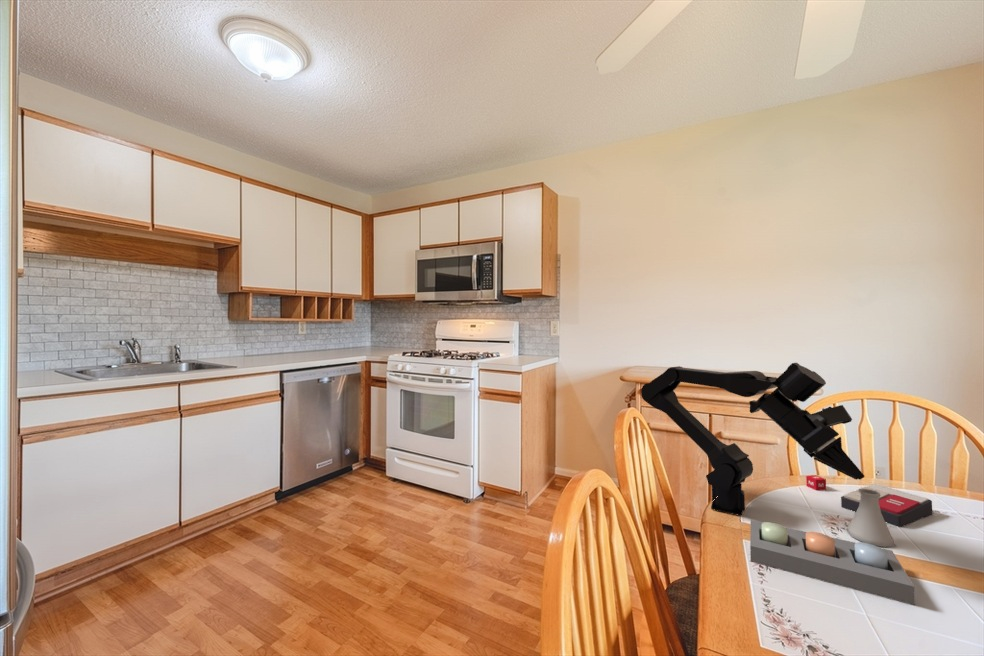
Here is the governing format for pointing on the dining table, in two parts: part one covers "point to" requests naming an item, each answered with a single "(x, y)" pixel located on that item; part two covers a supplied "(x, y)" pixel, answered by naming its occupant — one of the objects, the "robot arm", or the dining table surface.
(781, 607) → the dining table surface
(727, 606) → the dining table surface
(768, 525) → the button sage
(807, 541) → the button terracotta
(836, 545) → the button panel
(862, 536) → the flask
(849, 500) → the black product box
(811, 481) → the red letter cube
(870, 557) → the button blue
